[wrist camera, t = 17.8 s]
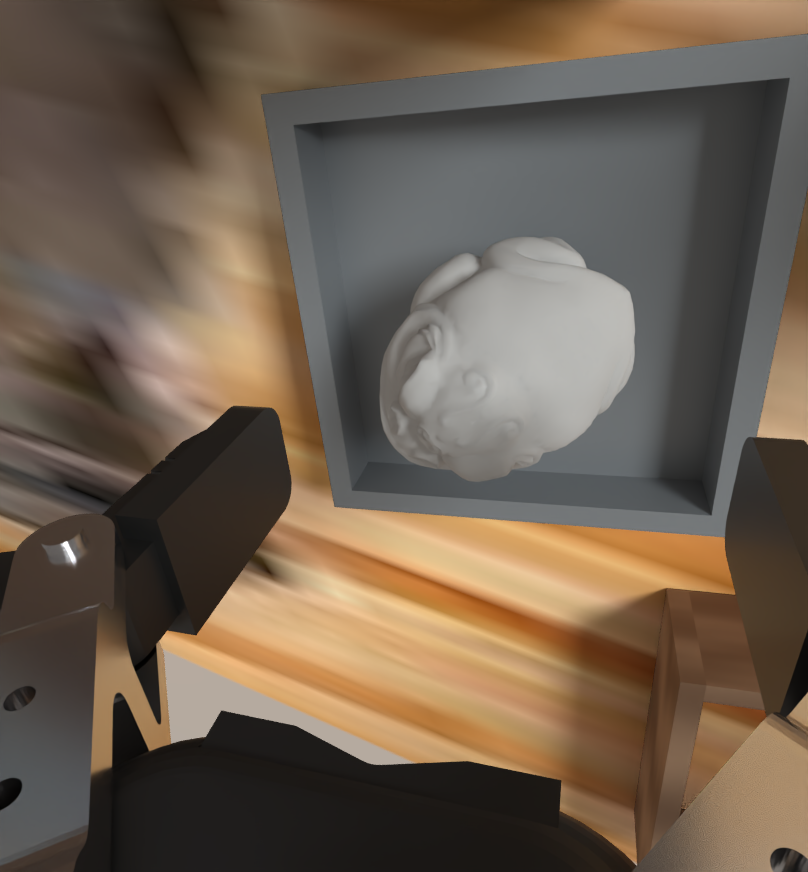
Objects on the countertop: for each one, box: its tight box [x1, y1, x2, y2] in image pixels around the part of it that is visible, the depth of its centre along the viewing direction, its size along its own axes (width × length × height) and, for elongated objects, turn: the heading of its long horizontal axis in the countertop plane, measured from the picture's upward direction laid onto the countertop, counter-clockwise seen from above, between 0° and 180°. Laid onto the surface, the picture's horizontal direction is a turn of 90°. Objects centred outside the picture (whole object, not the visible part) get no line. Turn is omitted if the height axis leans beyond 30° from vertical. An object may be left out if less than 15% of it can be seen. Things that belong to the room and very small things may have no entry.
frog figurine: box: [379, 237, 635, 482], centre depth 17 cm, size 6×7×7 cm
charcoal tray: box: [261, 34, 808, 537], centre depth 19 cm, size 14×14×3 cm
